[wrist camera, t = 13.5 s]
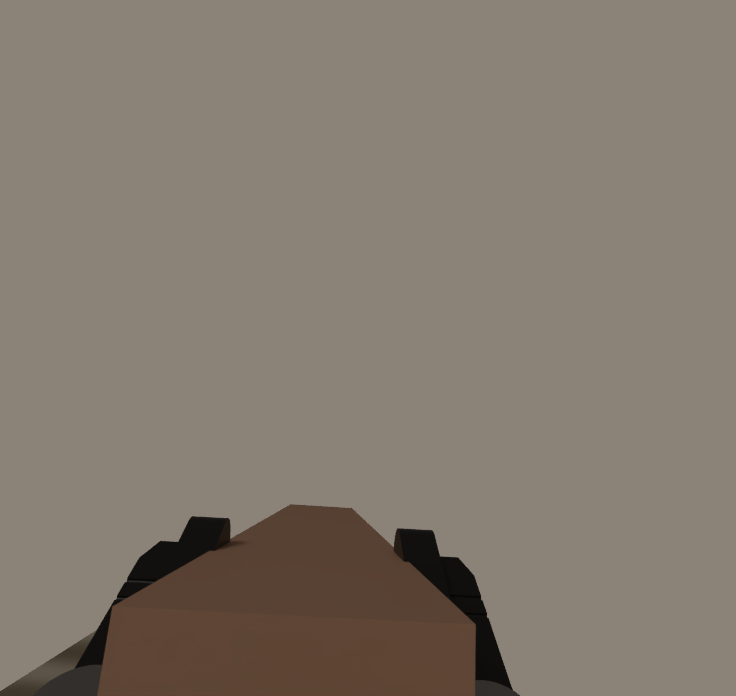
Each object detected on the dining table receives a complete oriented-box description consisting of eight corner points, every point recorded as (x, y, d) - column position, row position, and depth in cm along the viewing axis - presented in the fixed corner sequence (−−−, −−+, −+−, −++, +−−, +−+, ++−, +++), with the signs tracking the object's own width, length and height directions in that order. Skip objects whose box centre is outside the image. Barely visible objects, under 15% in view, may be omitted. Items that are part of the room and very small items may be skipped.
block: (470, 1094, 4) (475, 625, 5) (29, 1095, 4) (112, 606, 5) (347, 573, 29) (351, 508, 30) (284, 570, 29) (290, 504, 30)
